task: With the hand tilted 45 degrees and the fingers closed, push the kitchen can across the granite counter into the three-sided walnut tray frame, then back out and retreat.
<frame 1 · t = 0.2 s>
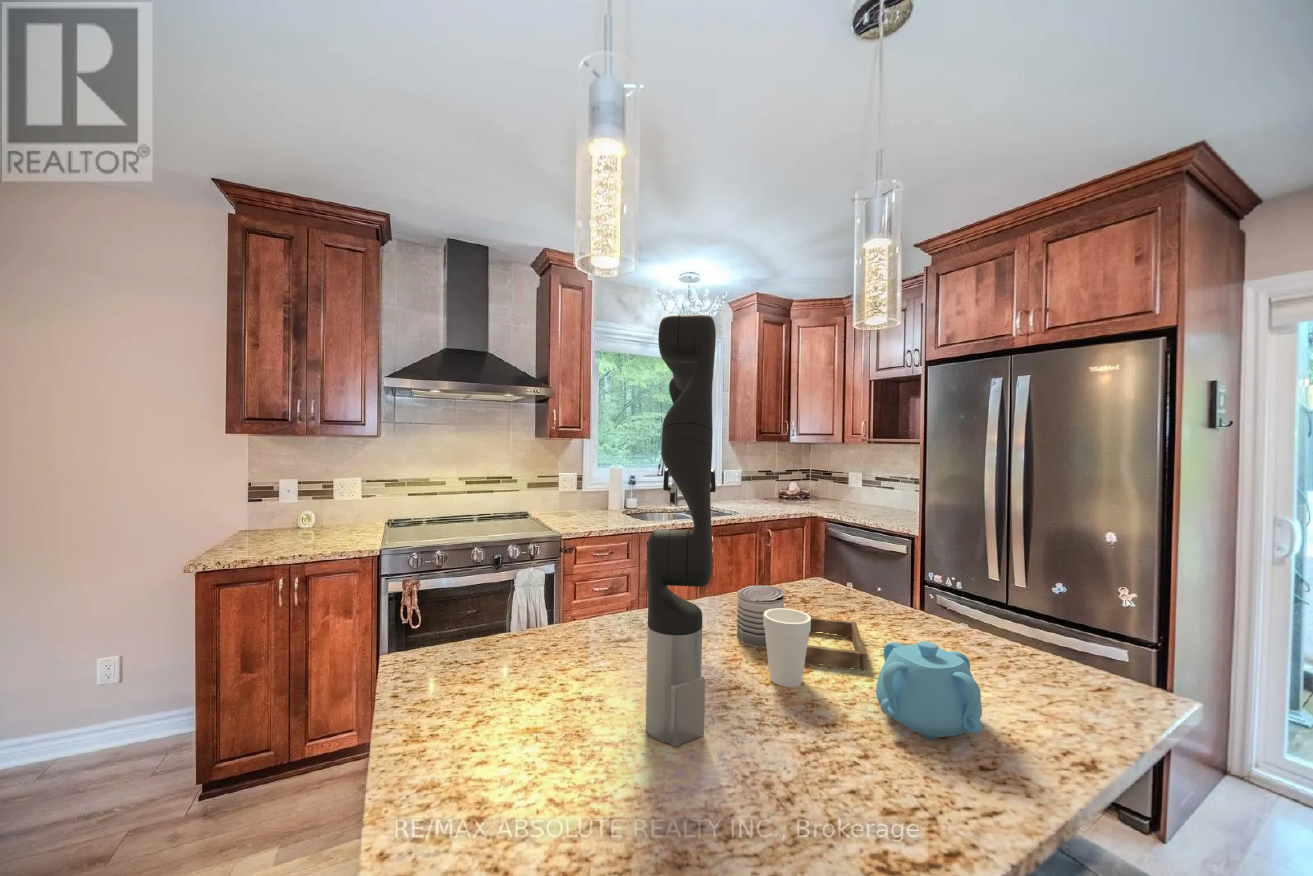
hand: (689, 504, 141), 31 cm above the counter, tool tilted 20°, fingers open, 8 cm apart
decorative pot: (926, 722, 89), on the counter
foam cup: (785, 680, 104), on the counter
can: (759, 640, 125), on the counter
tray: (814, 646, 121), on the counter
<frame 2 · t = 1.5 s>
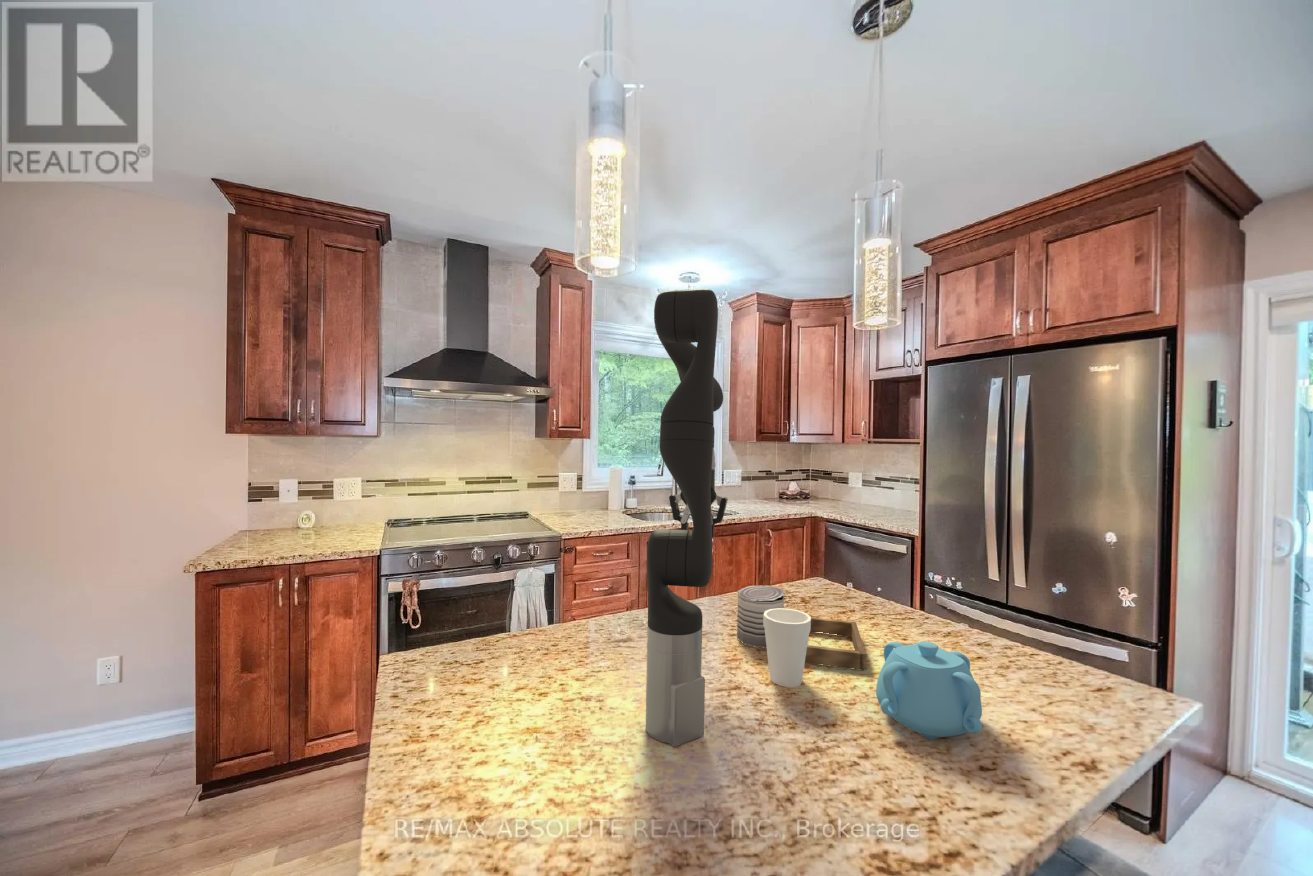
hand: (697, 539, 119), 25 cm above the counter, tool pointing down, fingers open, 5 cm apart
nothing on the counter moved.
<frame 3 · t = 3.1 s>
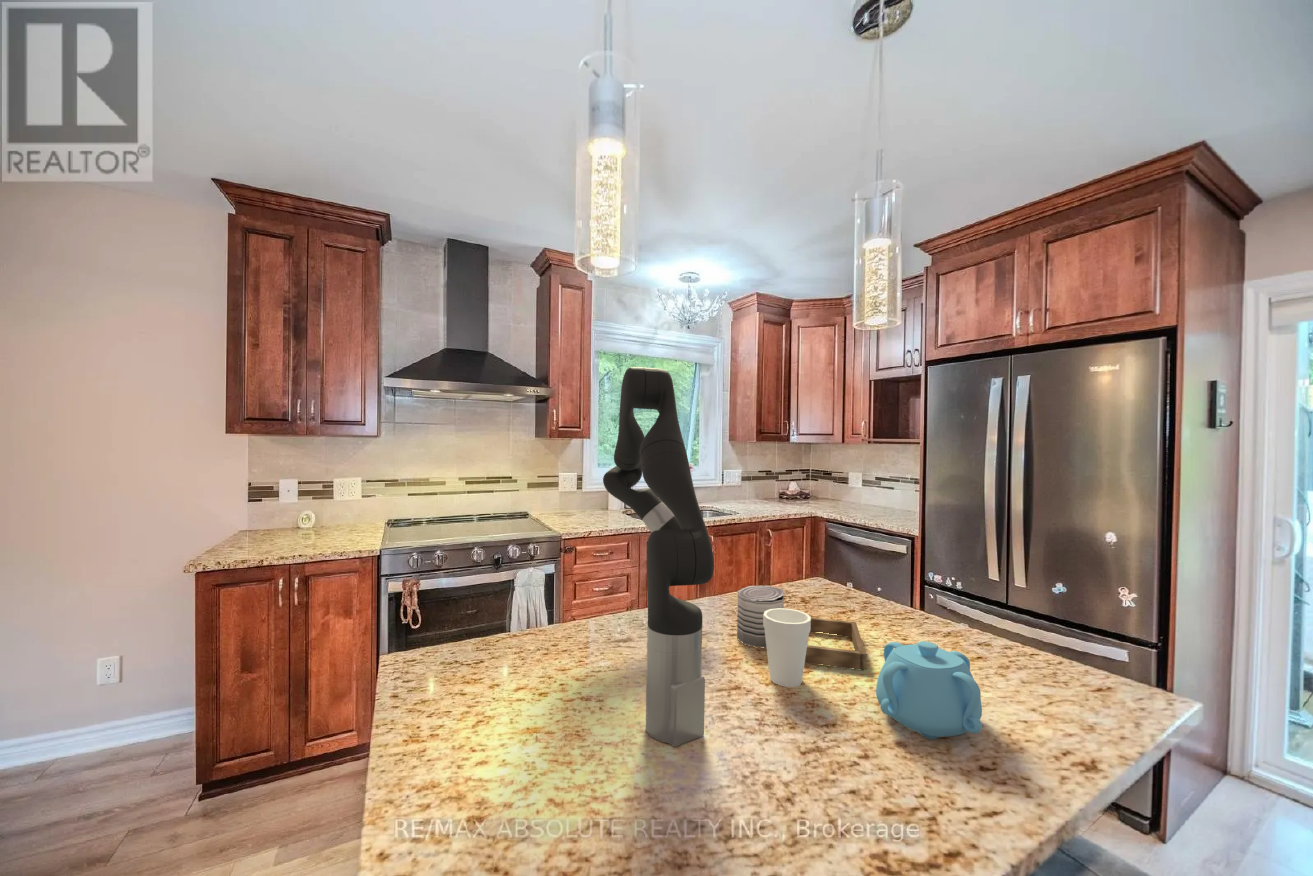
hand: (709, 575, 129), 14 cm above the counter, tool tilted 45°, fingers closed
nothing on the counter moved.
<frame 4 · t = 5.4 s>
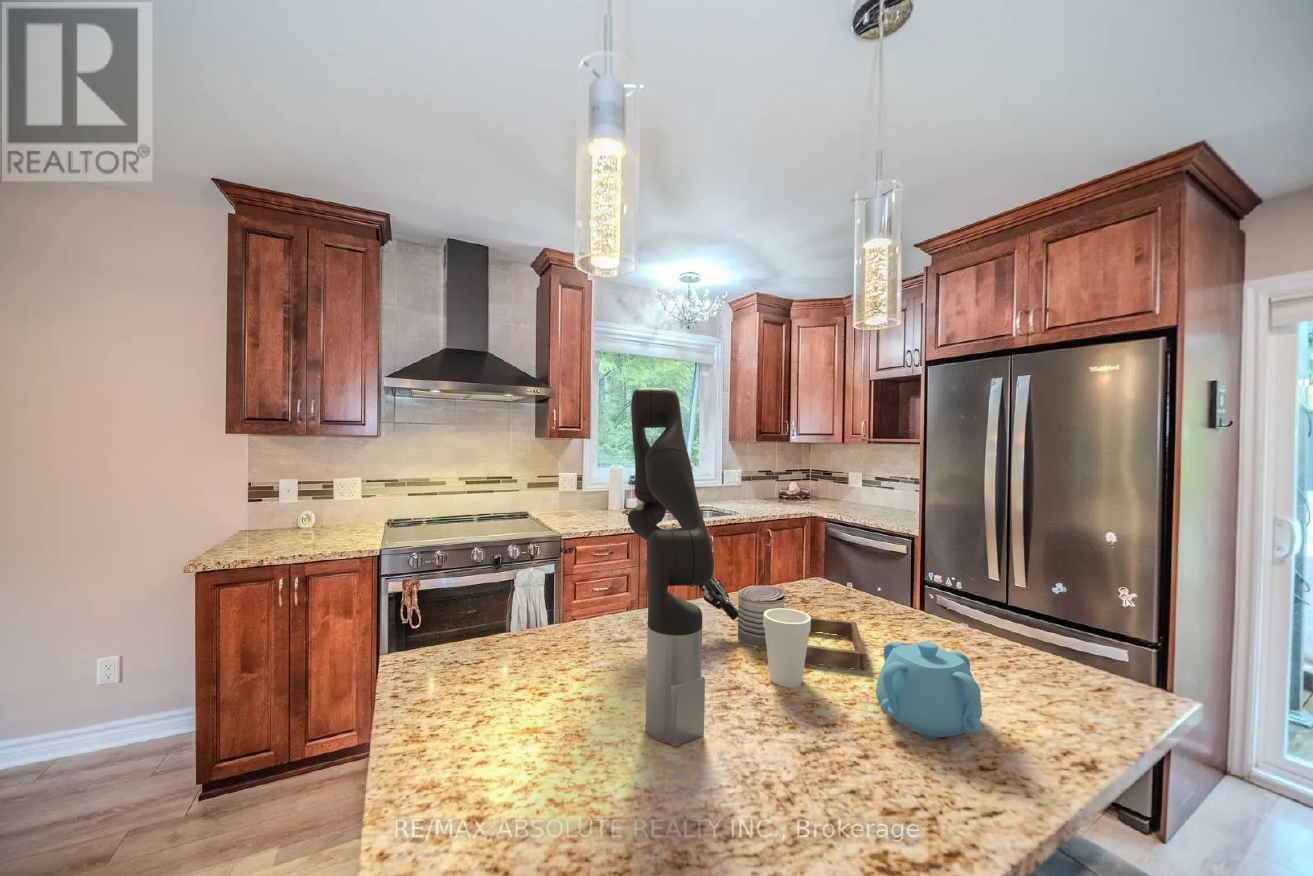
hand: (736, 617, 127), 5 cm above the counter, tool tilted 45°, fingers closed
can: (760, 640, 125), on the counter, touching gripper
everything else where it was.
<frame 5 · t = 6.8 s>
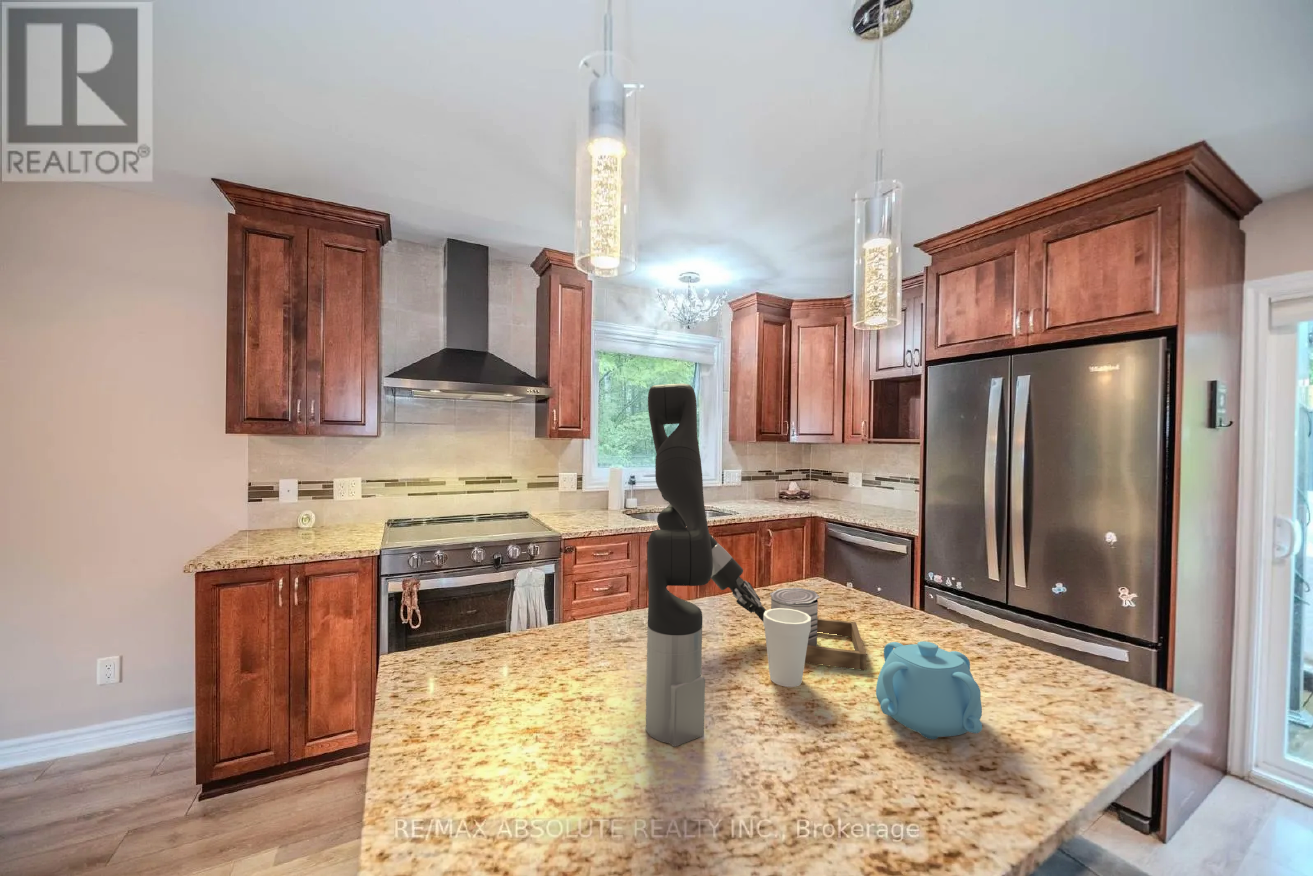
hand: (768, 620, 125), 5 cm above the counter, tool tilted 45°, fingers closed
can: (793, 643, 123), on the counter, touching gripper
everything else where it was.
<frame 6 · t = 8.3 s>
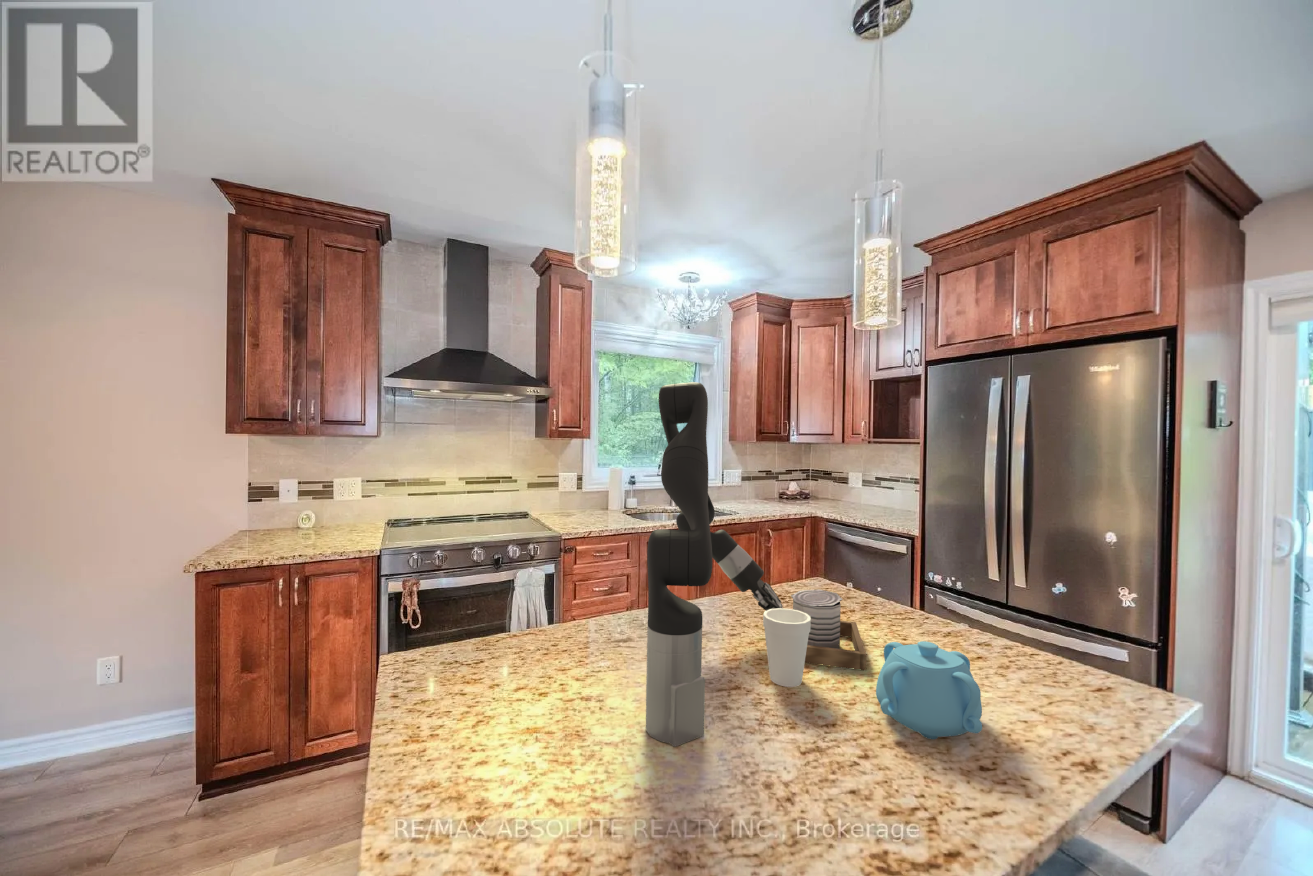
hand: (790, 623, 123), 5 cm above the counter, tool tilted 45°, fingers closed
can: (815, 646, 122), on the counter, touching gripper
everything else where it was.
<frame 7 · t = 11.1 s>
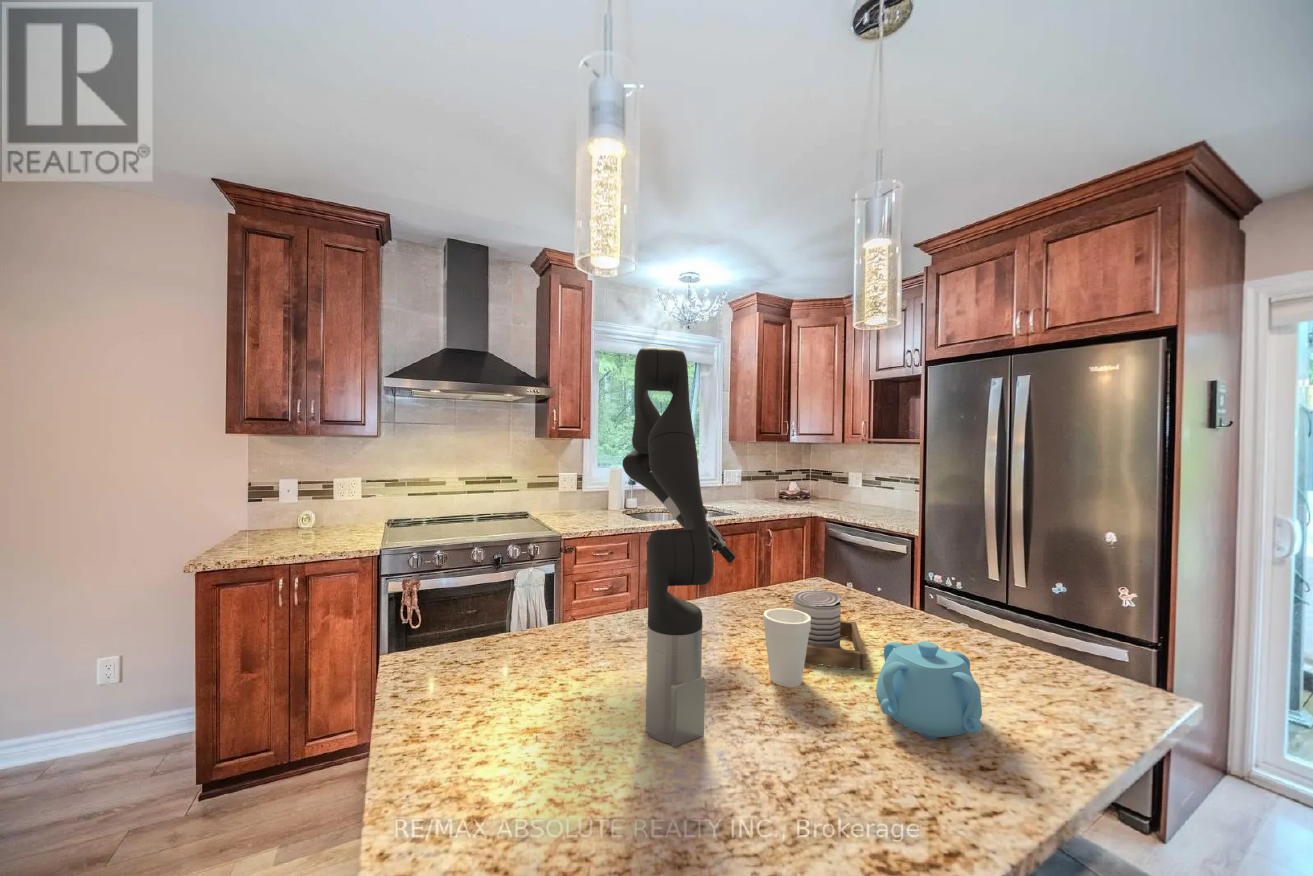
hand: (732, 560, 126), 19 cm above the counter, tool tilted 45°, fingers closed
can: (815, 646, 122), on the counter
everything else where it was.
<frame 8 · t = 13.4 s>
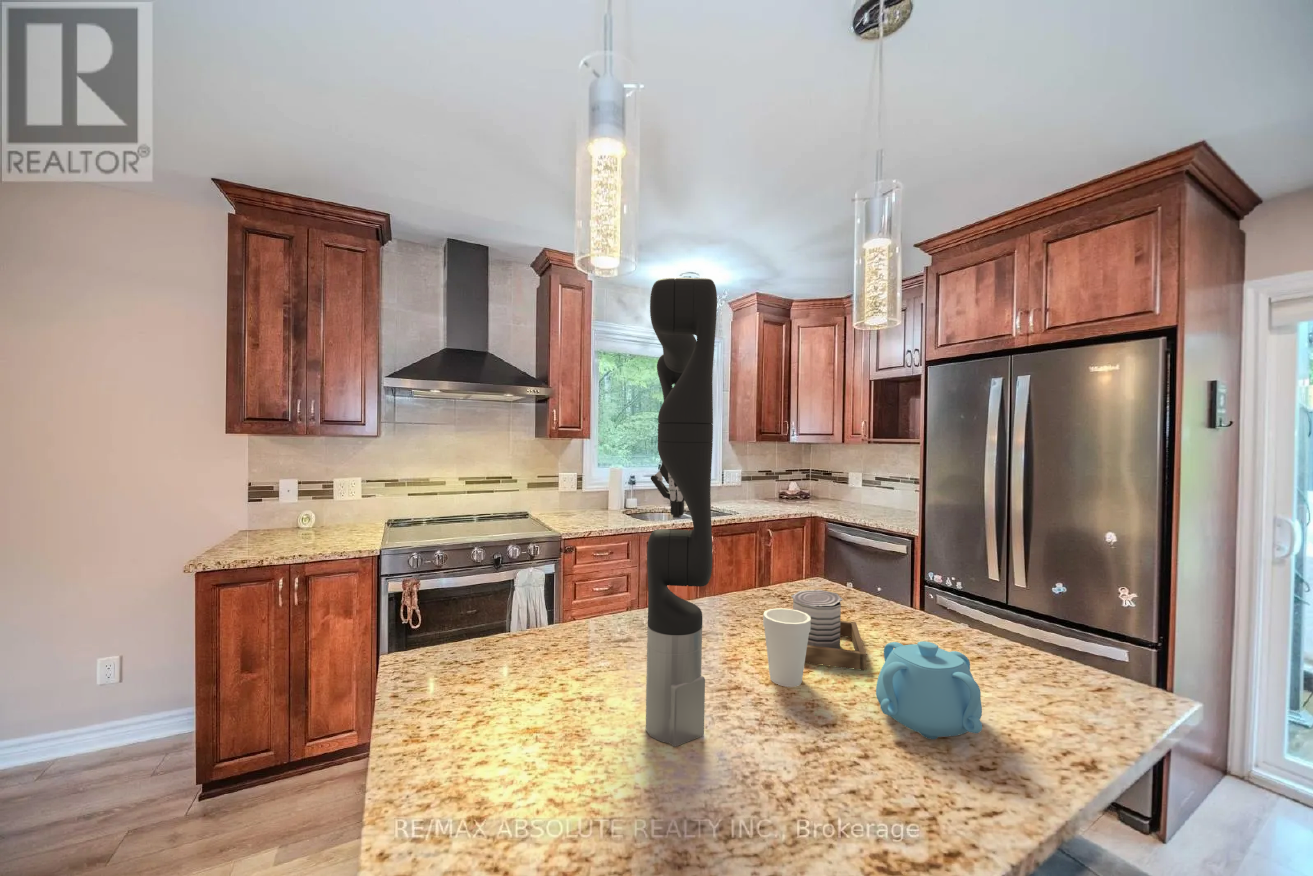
hand: (677, 517, 116), 31 cm above the counter, tool pointing down, fingers closed
nothing on the counter moved.
at the end: can 0.8 cm from the tray (horizontally); can tilted 0°; can moved 13.1 cm from its start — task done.
